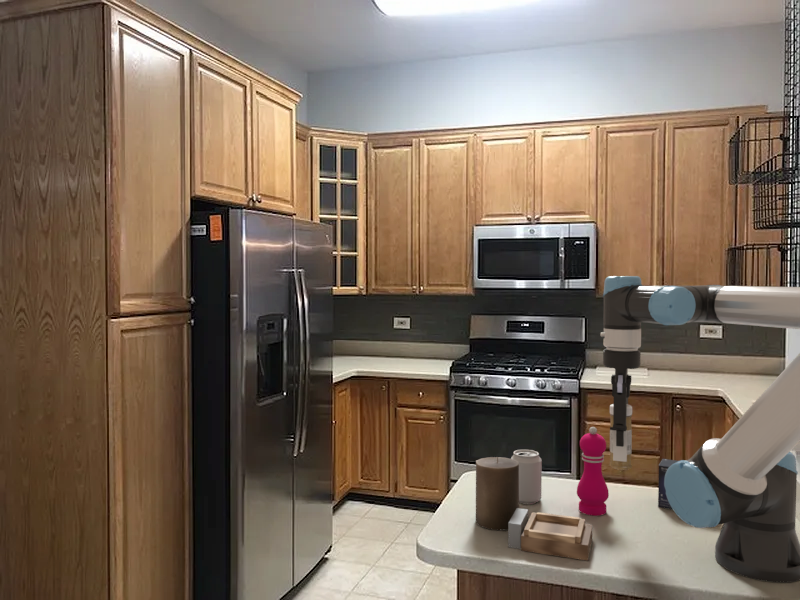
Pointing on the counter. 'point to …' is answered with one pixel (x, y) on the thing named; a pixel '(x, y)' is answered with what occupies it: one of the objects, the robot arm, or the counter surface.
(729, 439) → the robot arm
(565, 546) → the socket block
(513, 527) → the backstop wall
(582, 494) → the pepper mill
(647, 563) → the counter surface
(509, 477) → the pillar candle
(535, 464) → the can
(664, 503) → the small box
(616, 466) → the sprinkles bottle
